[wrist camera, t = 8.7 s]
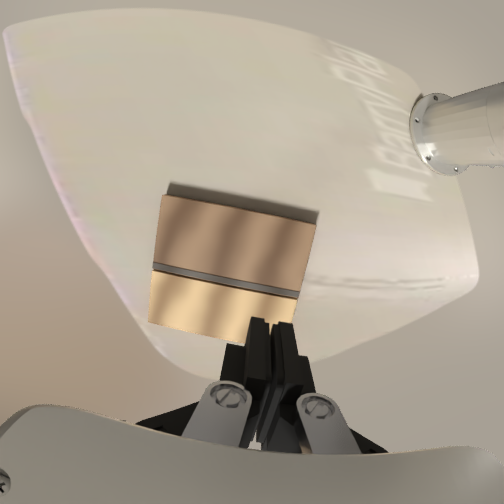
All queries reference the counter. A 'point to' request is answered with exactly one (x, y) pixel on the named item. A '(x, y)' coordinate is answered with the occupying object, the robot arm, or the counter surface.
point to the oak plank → (213, 306)
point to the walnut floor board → (232, 245)
